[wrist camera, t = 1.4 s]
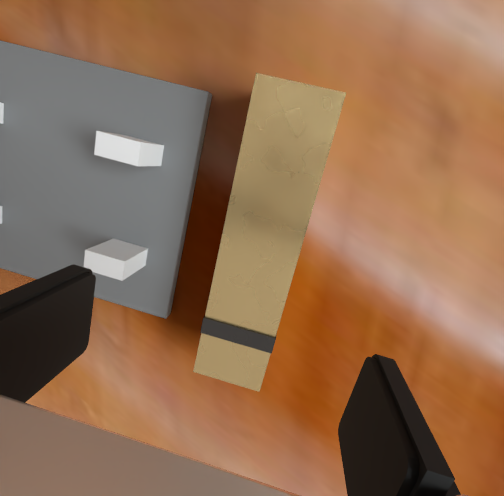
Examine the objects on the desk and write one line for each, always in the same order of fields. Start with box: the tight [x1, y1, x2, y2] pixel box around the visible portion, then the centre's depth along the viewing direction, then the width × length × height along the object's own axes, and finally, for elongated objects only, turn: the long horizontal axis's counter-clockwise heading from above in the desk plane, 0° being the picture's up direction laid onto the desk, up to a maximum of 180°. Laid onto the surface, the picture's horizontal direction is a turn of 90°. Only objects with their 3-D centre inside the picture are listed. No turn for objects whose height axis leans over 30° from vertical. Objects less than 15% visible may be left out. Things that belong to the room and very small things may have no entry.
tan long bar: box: [193, 73, 346, 391], centre depth 22 cm, size 20×5×5 cm, turn 167°
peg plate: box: [0, 41, 212, 319], centre depth 24 cm, size 18×21×4 cm
